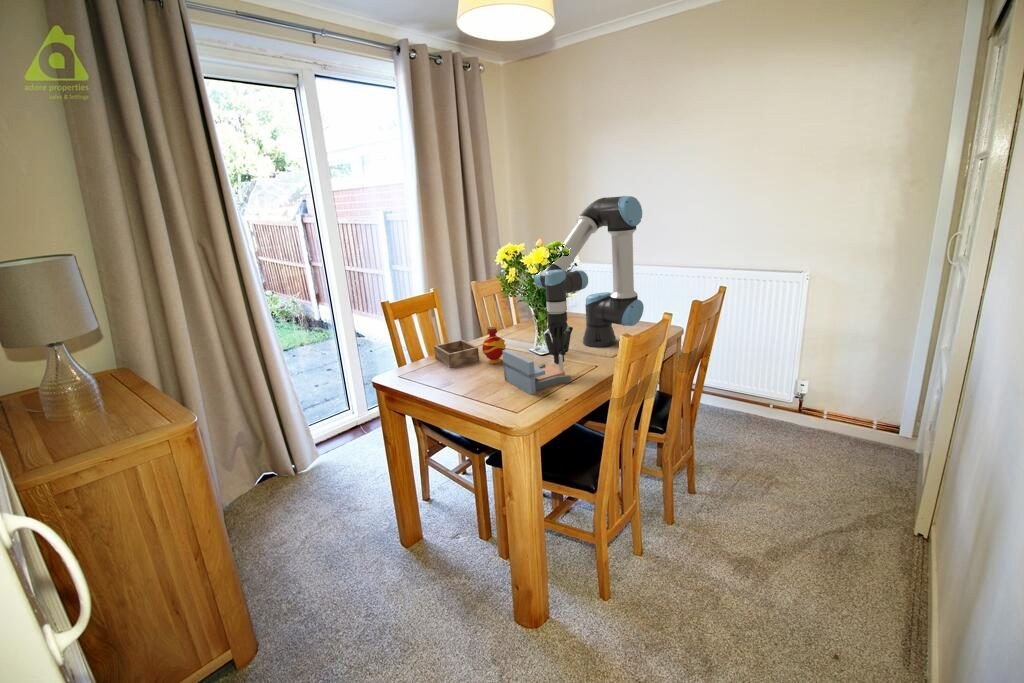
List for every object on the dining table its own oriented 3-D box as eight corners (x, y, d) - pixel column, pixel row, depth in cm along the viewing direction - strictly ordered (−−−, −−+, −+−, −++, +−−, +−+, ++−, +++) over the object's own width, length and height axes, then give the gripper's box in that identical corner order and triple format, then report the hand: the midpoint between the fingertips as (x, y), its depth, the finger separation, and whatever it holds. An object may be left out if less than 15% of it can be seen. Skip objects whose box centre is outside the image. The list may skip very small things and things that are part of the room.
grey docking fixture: (543, 369, 193) (542, 340, 190) (572, 382, 177) (571, 351, 174) (504, 379, 184) (502, 350, 181) (531, 394, 169) (528, 362, 165)
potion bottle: (486, 366, 201) (482, 332, 197) (481, 359, 211) (477, 326, 206) (509, 362, 204) (507, 329, 199) (503, 356, 213) (501, 323, 209)
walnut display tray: (463, 351, 224) (461, 339, 222) (479, 360, 209) (478, 347, 208) (435, 358, 217) (433, 345, 215) (450, 367, 203) (448, 354, 201)
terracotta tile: (551, 373, 189) (551, 365, 188) (565, 379, 182) (564, 371, 181) (526, 380, 184) (525, 373, 183) (538, 387, 176) (538, 379, 175)
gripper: (564, 307, 185) (567, 364, 191) (536, 313, 179) (540, 372, 185) (576, 310, 178) (578, 369, 185) (548, 316, 172) (551, 377, 179)
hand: (559, 370), depth 185 cm, fingers closed
